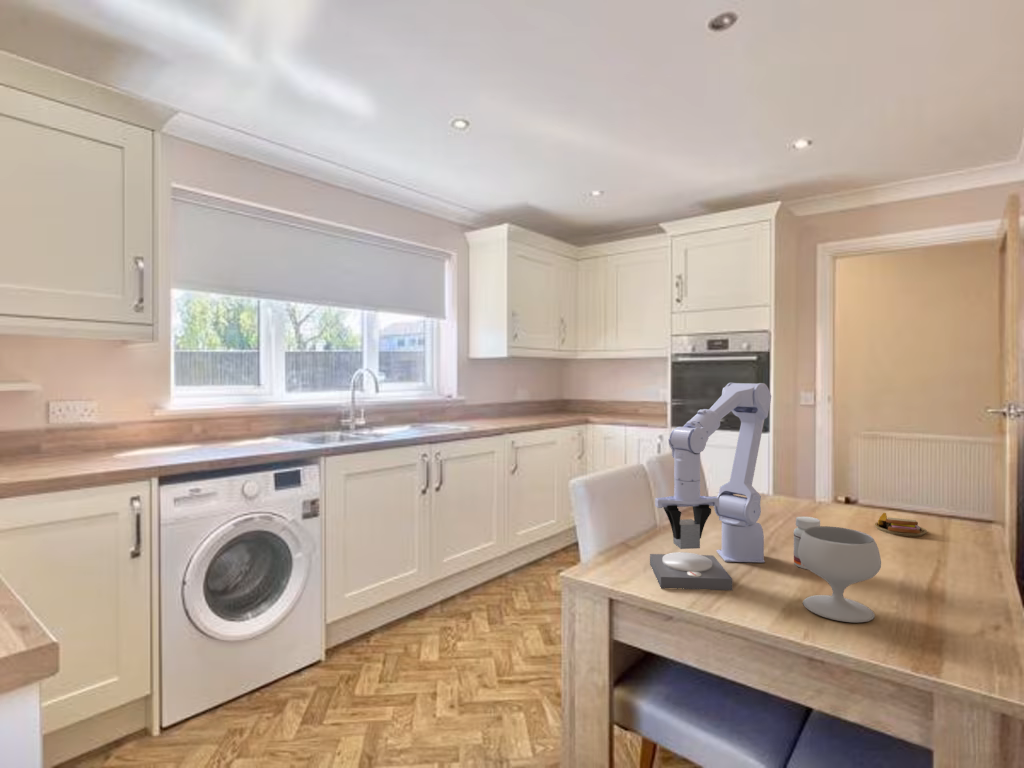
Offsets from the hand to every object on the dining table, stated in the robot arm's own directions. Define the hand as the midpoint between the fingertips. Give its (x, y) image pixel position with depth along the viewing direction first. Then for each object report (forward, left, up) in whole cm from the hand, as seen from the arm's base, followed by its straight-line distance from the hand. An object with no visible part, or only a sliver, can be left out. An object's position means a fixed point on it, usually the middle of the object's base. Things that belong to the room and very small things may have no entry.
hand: (687, 537), depth 128 cm
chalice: (-25, +17, -9) cm, 32 cm away
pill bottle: (-30, -8, -9) cm, 32 cm away
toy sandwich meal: (-69, -39, -9) cm, 80 cm away
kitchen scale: (0, +1, -8) cm, 9 cm away
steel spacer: (0, 0, -2) cm, 2 cm away
